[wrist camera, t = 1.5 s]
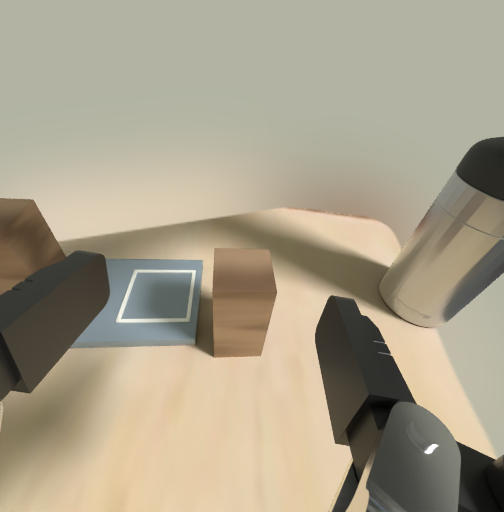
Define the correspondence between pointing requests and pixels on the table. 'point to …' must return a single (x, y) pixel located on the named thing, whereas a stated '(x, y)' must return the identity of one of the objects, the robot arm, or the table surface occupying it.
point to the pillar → (242, 301)
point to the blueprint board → (147, 305)
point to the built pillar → (24, 242)
